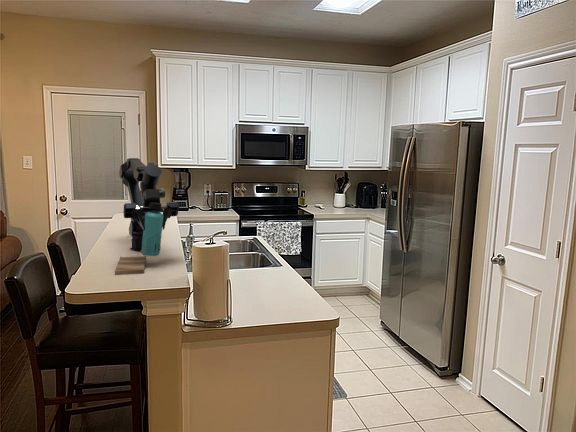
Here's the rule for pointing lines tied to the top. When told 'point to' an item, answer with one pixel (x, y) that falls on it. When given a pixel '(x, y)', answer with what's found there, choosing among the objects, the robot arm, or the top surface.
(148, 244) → the beverage bottle
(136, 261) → the walnut board
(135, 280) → the top surface
